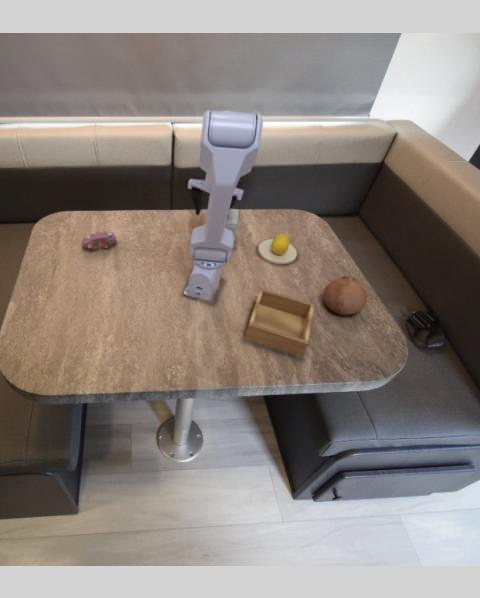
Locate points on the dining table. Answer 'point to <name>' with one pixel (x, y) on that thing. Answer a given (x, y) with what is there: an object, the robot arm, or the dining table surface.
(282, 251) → the lemon
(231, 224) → the medicine box
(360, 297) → the onion
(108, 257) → the dining table surface
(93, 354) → the dining table surface
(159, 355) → the dining table surface
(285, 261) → the plate
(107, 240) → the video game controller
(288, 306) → the crate
